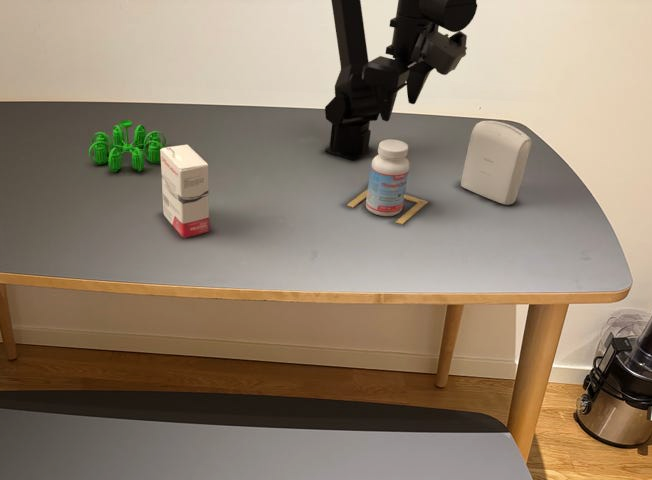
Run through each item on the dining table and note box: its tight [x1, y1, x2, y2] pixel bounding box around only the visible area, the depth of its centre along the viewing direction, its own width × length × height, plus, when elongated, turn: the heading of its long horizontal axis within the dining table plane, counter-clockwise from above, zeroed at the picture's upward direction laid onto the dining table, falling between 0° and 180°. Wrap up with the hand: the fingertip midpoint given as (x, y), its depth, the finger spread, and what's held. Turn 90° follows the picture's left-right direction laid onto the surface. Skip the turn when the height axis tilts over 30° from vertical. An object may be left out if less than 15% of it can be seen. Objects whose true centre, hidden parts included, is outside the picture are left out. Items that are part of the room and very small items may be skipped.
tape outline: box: [346, 188, 429, 226], centre depth 125 cm, size 10×9×1 cm
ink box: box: [160, 143, 210, 239], centre depth 117 cm, size 8×5×12 cm, turn 26°
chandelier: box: [88, 119, 167, 173], centre depth 137 cm, size 15×15×7 cm
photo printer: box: [460, 120, 532, 206], centre depth 125 cm, size 10×4×12 cm, turn 39°
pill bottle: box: [365, 139, 410, 217], centre depth 121 cm, size 6×6×11 cm
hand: (398, 111), depth 123 cm, fingers open, 9 cm apart
